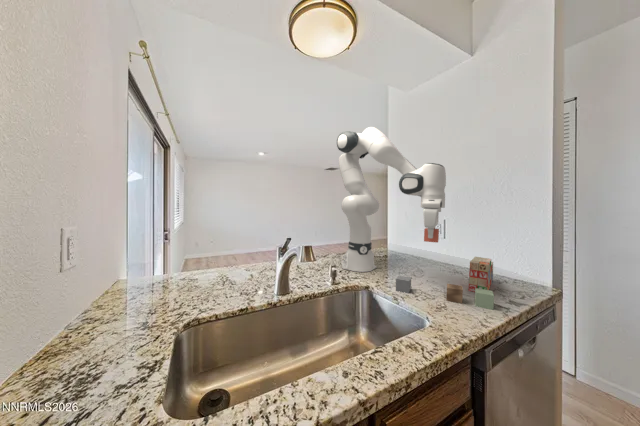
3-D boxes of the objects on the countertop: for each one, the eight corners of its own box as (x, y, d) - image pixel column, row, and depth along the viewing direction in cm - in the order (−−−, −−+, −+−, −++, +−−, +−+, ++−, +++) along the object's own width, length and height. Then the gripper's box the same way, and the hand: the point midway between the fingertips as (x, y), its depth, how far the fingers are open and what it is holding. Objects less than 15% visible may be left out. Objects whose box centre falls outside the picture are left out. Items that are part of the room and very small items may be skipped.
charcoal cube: (395, 291, 96) (396, 278, 96) (398, 287, 100) (398, 275, 100) (408, 293, 93) (409, 281, 93) (410, 289, 98) (411, 277, 97)
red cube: (423, 241, 96) (424, 229, 96) (425, 239, 101) (425, 227, 100) (437, 242, 94) (438, 230, 94) (438, 240, 98) (438, 228, 98)
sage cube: (475, 306, 83) (476, 292, 82) (474, 301, 87) (475, 288, 87) (493, 310, 80) (494, 295, 80) (491, 304, 84) (492, 290, 84)
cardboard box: (476, 278, 113) (477, 253, 113) (492, 281, 109) (494, 255, 109) (468, 290, 97) (469, 261, 97) (486, 295, 93) (488, 264, 93)
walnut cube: (446, 300, 87) (446, 287, 87) (446, 296, 91) (447, 283, 91) (462, 304, 85) (462, 290, 84) (461, 299, 89) (462, 285, 89)
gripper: (426, 203, 107) (425, 233, 108) (421, 203, 89) (419, 239, 90) (442, 203, 104) (441, 234, 105) (440, 203, 86) (438, 241, 87)
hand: (431, 237), depth 97 cm, fingers closed on red cube, 5 cm apart
